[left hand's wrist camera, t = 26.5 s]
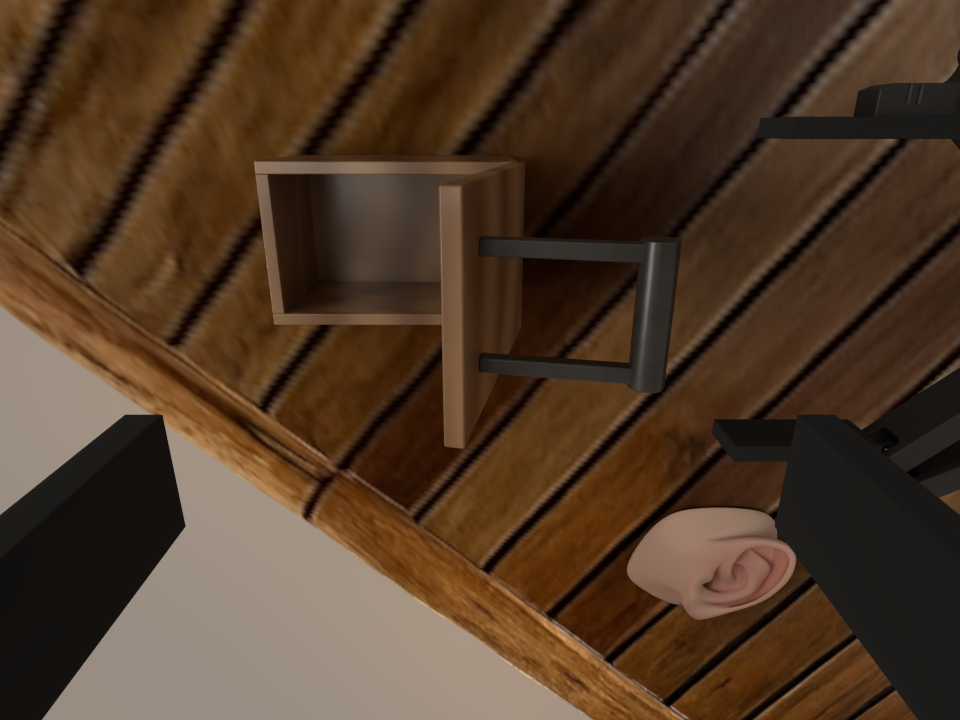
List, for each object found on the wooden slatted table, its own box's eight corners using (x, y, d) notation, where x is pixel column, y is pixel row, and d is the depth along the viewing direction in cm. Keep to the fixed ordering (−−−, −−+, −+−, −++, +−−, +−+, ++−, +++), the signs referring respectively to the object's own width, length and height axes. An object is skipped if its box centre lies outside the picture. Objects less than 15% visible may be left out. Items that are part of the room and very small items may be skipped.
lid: (443, 447, 24) (663, 470, 22) (437, 184, 20) (699, 189, 19) (507, 327, 38) (643, 335, 37) (511, 162, 35) (661, 163, 33)
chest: (312, 288, 48) (274, 325, 39) (299, 154, 44) (253, 161, 35) (507, 288, 48) (514, 325, 39) (510, 155, 44) (517, 161, 35)
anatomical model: (627, 626, 54) (662, 520, 50) (617, 594, 58) (649, 493, 54) (767, 645, 55) (813, 542, 51) (749, 612, 59) (791, 515, 55)
